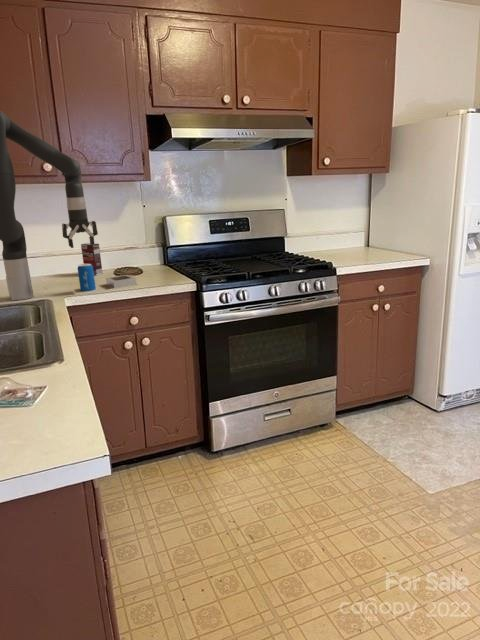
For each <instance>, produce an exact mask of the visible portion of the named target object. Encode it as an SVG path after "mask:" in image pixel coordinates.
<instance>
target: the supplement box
mask: <svg viewBox="0 0 480 640" xmlns="http://www.w3.org/2000/svg"><path fill="white" fill-rule="evenodd" d="M80 248H81V254H82V262H83V263H82V264H91V265H92V266H93V272H94V276H100V275H102V274H103V267H102V260H101V259H102V258H101V249H100V243H95V242H94V244H93V246H91V245H90V242H86V243H81V244H80Z"/></svg>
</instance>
